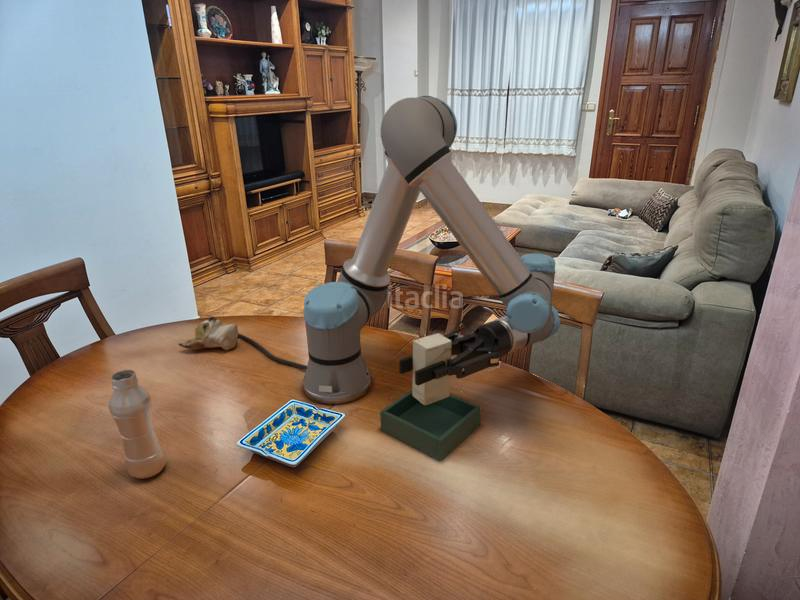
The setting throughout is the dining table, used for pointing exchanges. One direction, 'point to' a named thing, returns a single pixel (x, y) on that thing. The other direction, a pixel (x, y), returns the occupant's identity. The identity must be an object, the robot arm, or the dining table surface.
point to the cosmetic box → (426, 355)
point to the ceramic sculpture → (213, 335)
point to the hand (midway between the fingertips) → (408, 372)
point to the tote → (431, 423)
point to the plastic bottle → (136, 426)
